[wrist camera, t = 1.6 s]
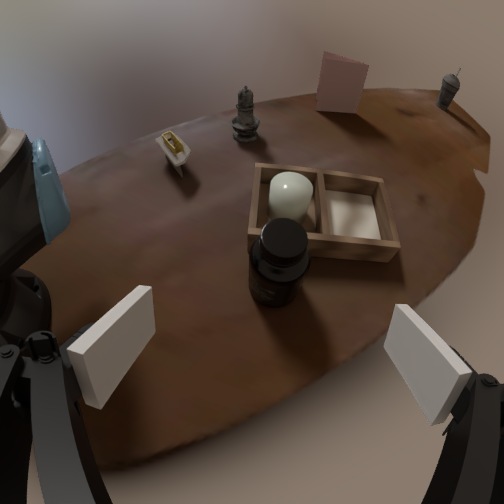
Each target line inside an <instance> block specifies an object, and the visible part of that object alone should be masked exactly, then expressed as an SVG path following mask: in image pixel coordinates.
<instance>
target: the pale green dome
mask: <svg viewBox="0 0 504 504" xmlns="http://www.w3.org/2000/svg"><path fill="white" fill-rule="evenodd" d="M312 193H313V186H312V184H311V182H310V181H309V180H308V179H307V178H306V177H305V176H303V175H301V174H299V173H295V172H283V173H280V174H277V175H276V176H275V177H274V178H273V179H272V180H271V184H270V194H269V203H268V216H269V219H270V220H273V219H276V218H290V219H292V220H295V221H297V222H298V223H299V224H302V223H303V222H304V221H305V218H306V214H307V211H308V207H309V204H310V200H311V197H312Z"/></svg>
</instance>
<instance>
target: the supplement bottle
mask: <svg viewBox="0 0 504 504" xmlns="http://www.w3.org/2000/svg"><path fill="white" fill-rule="evenodd" d="M310 263H311V254H310V250H309V247H308V235H307V233H306V230H305V229H304V227H302V225H301V224H299V223H298V222H297V221H295V220H292V219H290V218H276V219H273V220H271V221H269V222H268V223H267V224H265V226H264V227H263V228H262V231H261V235H259V236H258V237H257V238H256V239H255V240H254V242H253V244H252V246H251V248H250V253H249V289H250V292H251V295H252V296H253V298H254V299H255V300H256V301H257V302H258V303H260V304H261V305H263V306H265V307H269V308H280V307H284V306H286V305H288V304H290V303H291V302H292V301H293V300H294V299H295V297H296V296H297V294H298V292H299V290H300V288H301V285H302V283H303V281H304V279H305V276H306V274H307V272H308V270H309V267H310Z"/></svg>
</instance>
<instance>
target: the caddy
mask: <svg viewBox="0 0 504 504" xmlns="http://www.w3.org/2000/svg"><path fill="white" fill-rule="evenodd" d="M283 172H295V173H299V174H301V175H303V176H305V177H306V178H307V179H308V180H309V181H310V182H311V184H312V186H313V193H312V197H311V200H310V204H309V207H308V211H307V214H306V218H305V221H304V222H303V223H302V224H301V225H302V227H304V229H305V230H306V233H307V235H308V247H309V250H310V254H311V257H324V258H337V259H349V260H362V261H374V262H387V263H388V262H389V261H390V260H391V259H392V258H393V256H394V255H395V254H396V253H397V252H398V251H399V249H400V248H401V246H400V242H399V237H398V233H397V229H396V225H395V221H394V217H393V213H392V209H391V206H390V202H389V199H388V195H387V192H386V188H385V185H384V182H383V179H382V178H376V177H370V176H364V175H358V174H352V173H345V172H338V171H331V170H324V169H316V168H307V167H298V166H288V165H277V164H265V163H255V172H254V181H253V190H252V199H251V209H250V218H249V227H248V252H250V248H251V246H252V244H253V242H254V240H255V239H256V238H257V237H258V236H259V235H261V231H262V228H263V227H264V226H265V224H267V223H268V222H269V221H271V220H270V219H269V216H268V203H269V194H270V184H271V180H272V179H273V178H274V177H275V176H276V175H277V174H280V173H283Z"/></svg>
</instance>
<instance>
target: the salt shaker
mask: <svg viewBox="0 0 504 504" xmlns="http://www.w3.org/2000/svg"><path fill="white" fill-rule="evenodd" d="M254 107H255V105H254V104H253V92H252V91H251V90H249V89H247V86H245V87H244V89H242V90H240V91H239V93H238V104H237V105H236V108H237V109H238V116H236V117H234V118H233V119H232V120H231V125H232V126H233V129H234V130H235V132H234V133H233V138H234V139H235V140H236V141H239V142H243V143H247V142H252V141H254V140H256V139H257V137H258V133H257V132H256V130H257V128H258V126H259V124H260V120H259V119H258V118H257V117H255V116H253V108H254Z"/></svg>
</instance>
